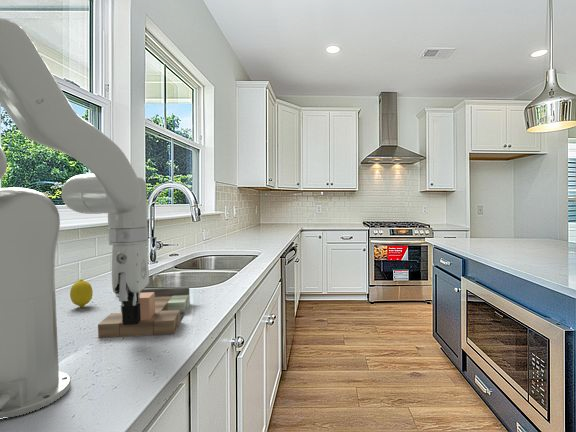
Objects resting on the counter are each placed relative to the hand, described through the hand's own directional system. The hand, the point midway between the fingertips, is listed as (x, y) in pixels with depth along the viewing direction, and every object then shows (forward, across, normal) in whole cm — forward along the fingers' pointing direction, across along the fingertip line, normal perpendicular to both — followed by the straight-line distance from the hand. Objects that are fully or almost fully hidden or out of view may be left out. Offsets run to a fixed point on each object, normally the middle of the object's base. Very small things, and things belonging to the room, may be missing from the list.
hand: (131, 323), depth 77 cm
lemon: (+4, +29, +22) cm, 37 cm away
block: (+1, +7, 0) cm, 7 cm away
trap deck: (+4, +15, 0) cm, 16 cm away
